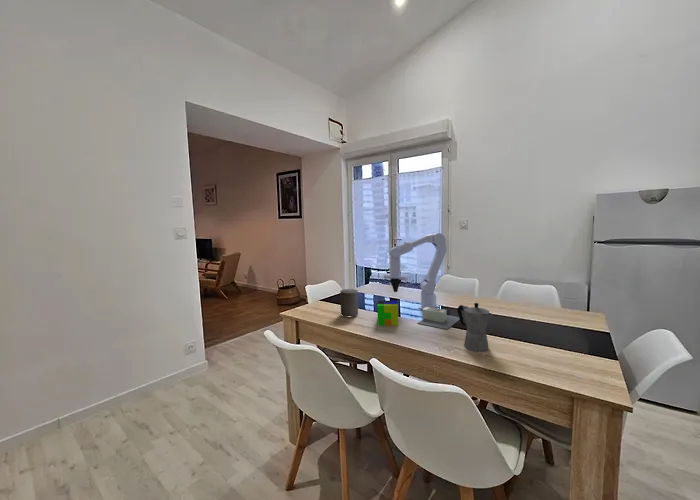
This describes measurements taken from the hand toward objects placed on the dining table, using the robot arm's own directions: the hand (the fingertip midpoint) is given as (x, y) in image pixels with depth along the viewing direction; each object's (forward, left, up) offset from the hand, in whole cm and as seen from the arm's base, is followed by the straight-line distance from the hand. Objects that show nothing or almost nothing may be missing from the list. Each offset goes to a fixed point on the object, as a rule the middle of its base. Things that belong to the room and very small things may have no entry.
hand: (395, 291), depth 175 cm
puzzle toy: (+22, +8, -11) cm, 26 cm away
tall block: (+6, +20, -8) cm, 23 cm away
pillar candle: (+23, -16, -11) cm, 30 cm away
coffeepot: (+28, +52, -11) cm, 60 cm away
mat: (+6, +29, -10) cm, 31 cm away
